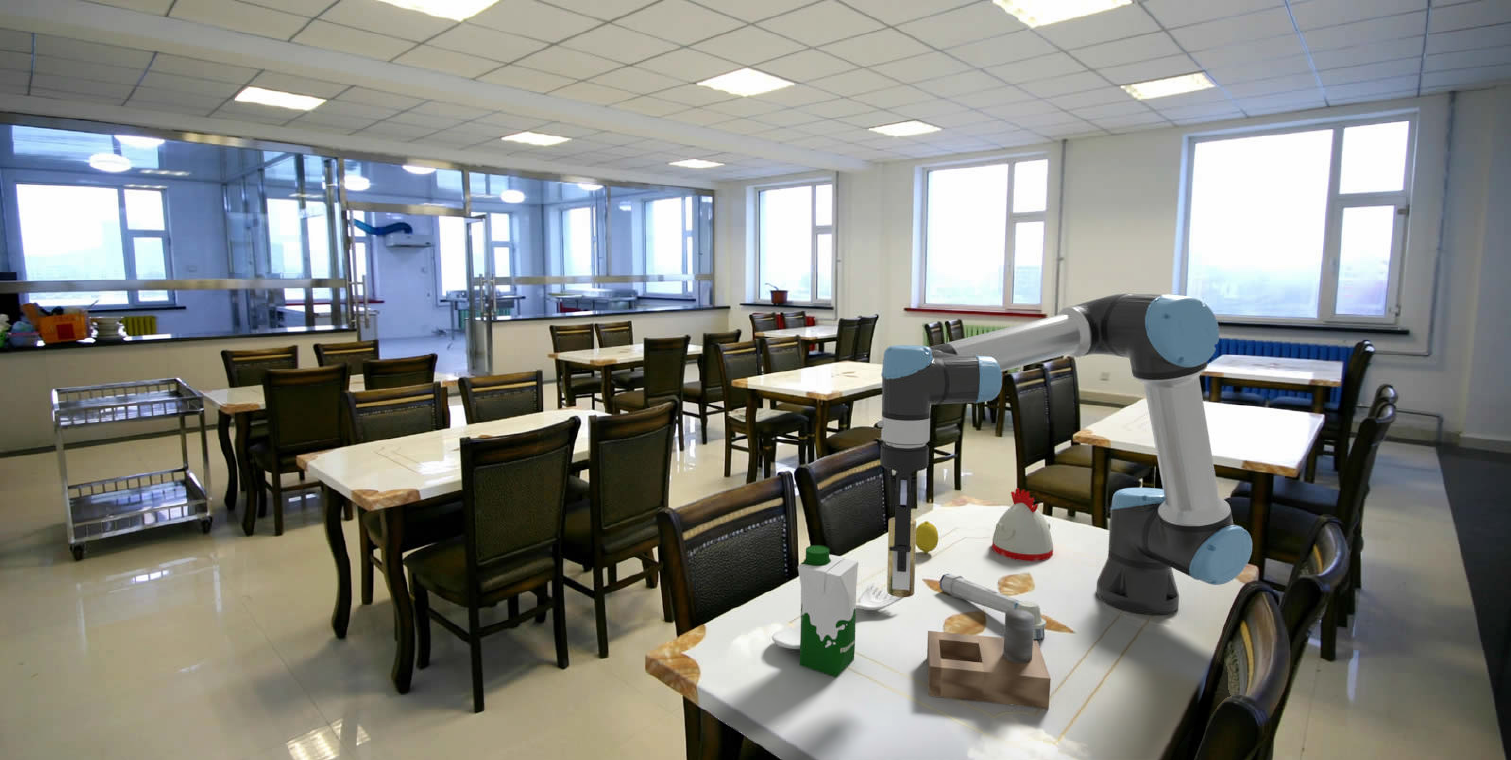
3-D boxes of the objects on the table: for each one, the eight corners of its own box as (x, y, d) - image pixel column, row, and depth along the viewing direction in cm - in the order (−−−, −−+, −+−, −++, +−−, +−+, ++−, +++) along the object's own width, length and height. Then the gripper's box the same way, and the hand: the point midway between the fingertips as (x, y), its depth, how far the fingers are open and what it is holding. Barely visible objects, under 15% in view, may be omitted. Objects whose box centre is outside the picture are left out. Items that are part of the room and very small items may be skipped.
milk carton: (815, 645, 134) (816, 538, 131) (861, 658, 129) (864, 548, 126) (791, 666, 126) (792, 554, 123) (840, 681, 122) (842, 565, 119)
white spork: (908, 606, 148) (908, 589, 147) (799, 663, 126) (798, 644, 126) (872, 596, 154) (872, 579, 154) (762, 648, 132) (761, 629, 132)
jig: (1035, 668, 126) (1039, 601, 124) (1048, 708, 114) (1053, 635, 112) (927, 657, 129) (929, 592, 127) (928, 695, 118) (931, 624, 116)
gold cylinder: (914, 587, 123) (916, 517, 121) (914, 598, 119) (916, 526, 117) (887, 584, 124) (888, 515, 122) (886, 596, 120) (888, 524, 118)
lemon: (940, 557, 175) (941, 525, 174) (916, 557, 175) (917, 525, 174) (934, 549, 180) (935, 517, 179) (912, 549, 180) (913, 517, 179)
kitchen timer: (1023, 537, 189) (1026, 480, 187) (1065, 555, 176) (1069, 494, 174) (980, 545, 183) (982, 486, 181) (1020, 564, 171) (1024, 502, 169)
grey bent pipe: (954, 570, 158) (1051, 599, 136) (956, 601, 158) (1053, 635, 136) (936, 575, 156) (1031, 605, 133) (938, 606, 156) (1033, 642, 134)
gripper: (882, 430, 127) (879, 560, 130) (878, 454, 110) (875, 603, 113) (927, 432, 125) (923, 563, 129) (930, 456, 109) (925, 607, 112)
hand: (901, 581), depth 121 cm, fingers closed on gold cylinder, 4 cm apart
